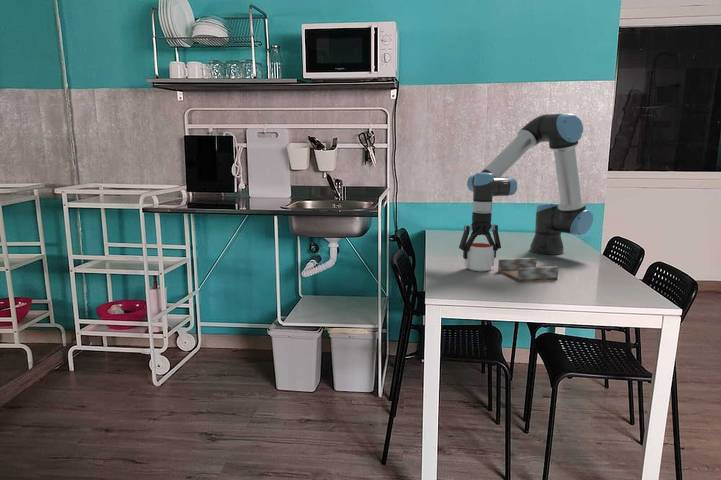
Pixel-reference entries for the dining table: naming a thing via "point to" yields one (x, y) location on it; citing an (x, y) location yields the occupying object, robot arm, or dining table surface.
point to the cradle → (526, 270)
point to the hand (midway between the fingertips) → (479, 266)
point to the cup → (480, 257)
